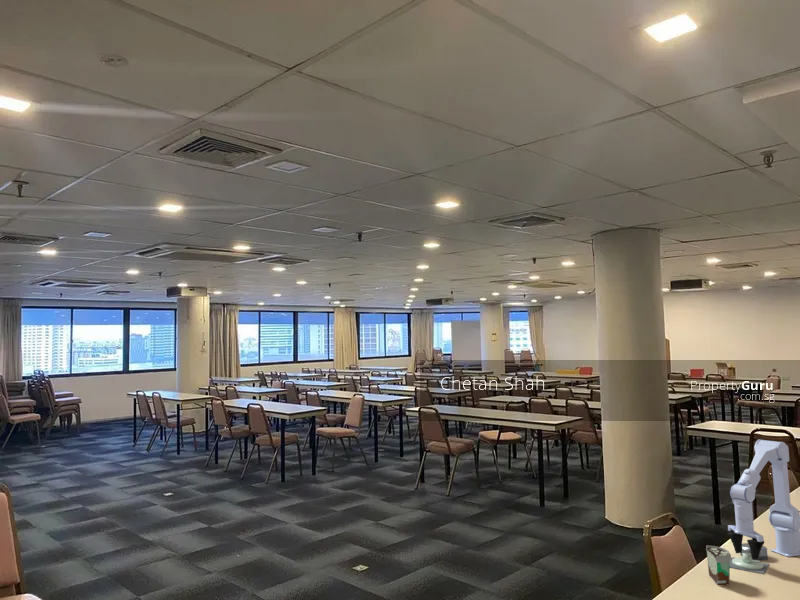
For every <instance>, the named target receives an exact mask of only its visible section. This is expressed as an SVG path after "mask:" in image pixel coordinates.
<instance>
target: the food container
mask: <svg viewBox="0 0 800 600" xmlns="http://www.w3.org/2000/svg"><path fill="white" fill-rule="evenodd" d="M705 551H706V558H707V559H706V560H707V570H708V576H709V578H710V579H711V578H712V579H713V580H714V581H713V580H712V579H711V580H712V581H713V582H714V583H715V584H716V586H717V585H724V586H728V585H730V580H731V579H730V574H731V573H730V571H731V570H730V569H731V568H730V561H731V560H732V555H731V553H730V551H729V550H727V549H726V548H722V547H720V546H716V545H706V548H705ZM727 584H728V585H727Z"/></svg>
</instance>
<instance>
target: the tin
mask: <svg viewBox="0 0 800 600" xmlns="http://www.w3.org/2000/svg"><path fill="white" fill-rule="evenodd" d="M742 553H751V550H750V546H749V544H748V542H745V543H743V542H742ZM742 553H739V554H740V557H741V558H743V555H742ZM768 557H769V555H768V548H767V546H764V545H763V546H762V548H761V550H760V554H759V558H758V561H767V560H768Z"/></svg>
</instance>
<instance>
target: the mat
mask: <svg viewBox="0 0 800 600" xmlns="http://www.w3.org/2000/svg"><path fill="white" fill-rule="evenodd" d="M731 558H732V559H734V558H735V557H734V556H731ZM762 563H763V564H764V568H763V569H761V570H749V569H743V568H739V567H737V566H735V565H733V564H732V560H731V561H730V569H735V570H740V571H744V572H745V571H746V572H751V573H755V574H761V575H765V572H766V571H767V570H768V568H769V566H770V563H766V562H762Z"/></svg>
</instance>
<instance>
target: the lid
mask: <svg viewBox="0 0 800 600" xmlns="http://www.w3.org/2000/svg"><path fill="white" fill-rule="evenodd" d="M742 555H743V557H734V559H732V564H733V565H735V566H737V567H739V568H743V569H749V570H761V569H763V568H764V564H763V563H764V562H762V561H761V560H752V557H751V553H742Z"/></svg>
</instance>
